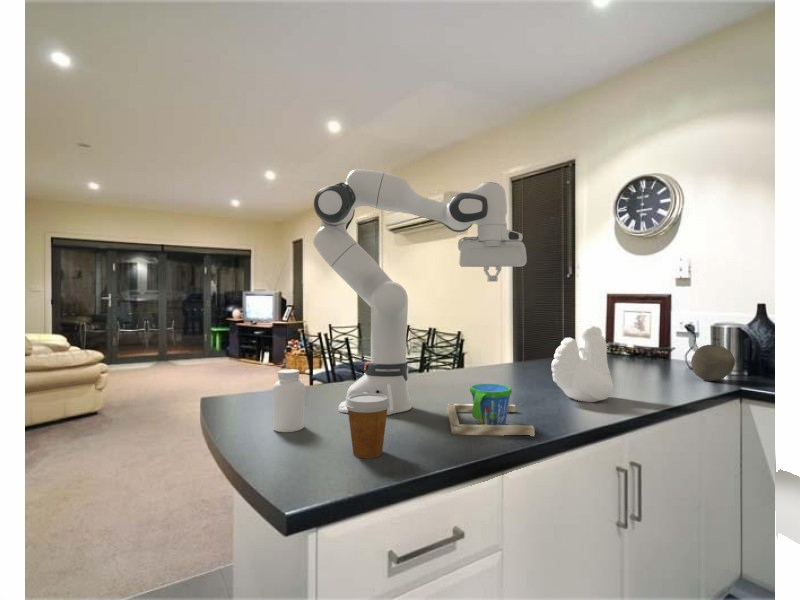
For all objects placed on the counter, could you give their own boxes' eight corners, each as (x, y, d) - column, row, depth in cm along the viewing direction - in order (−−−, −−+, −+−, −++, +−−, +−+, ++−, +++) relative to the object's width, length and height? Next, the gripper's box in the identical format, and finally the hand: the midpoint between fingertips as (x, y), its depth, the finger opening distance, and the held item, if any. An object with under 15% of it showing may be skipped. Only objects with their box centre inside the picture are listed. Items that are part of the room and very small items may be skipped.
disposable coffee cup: (346, 446, 96) (346, 393, 96) (388, 445, 97) (388, 392, 97) (344, 462, 87) (344, 403, 87) (391, 460, 88) (390, 402, 88)
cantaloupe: (702, 383, 170) (702, 346, 170) (685, 377, 184) (685, 343, 184) (742, 384, 168) (742, 346, 168) (721, 378, 181) (721, 343, 182)
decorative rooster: (589, 392, 153) (588, 324, 154) (625, 402, 139) (624, 326, 139) (530, 398, 145) (530, 325, 146) (562, 408, 130) (562, 327, 131)
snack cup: (491, 436, 103) (490, 394, 103) (456, 427, 111) (456, 388, 111) (524, 423, 114) (523, 385, 114) (490, 416, 122) (490, 380, 122)
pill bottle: (276, 434, 105) (276, 374, 105) (270, 426, 112) (270, 369, 112) (308, 430, 109) (308, 371, 109) (300, 422, 116) (300, 367, 116)
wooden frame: (452, 434, 105) (452, 426, 105) (447, 410, 129) (447, 403, 129) (534, 436, 103) (534, 427, 103) (514, 411, 127) (514, 404, 127)
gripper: (458, 235, 128) (459, 281, 128) (527, 234, 126) (528, 280, 126) (457, 238, 134) (457, 282, 134) (523, 237, 133) (523, 281, 133)
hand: (492, 281), depth 130 cm, fingers closed
